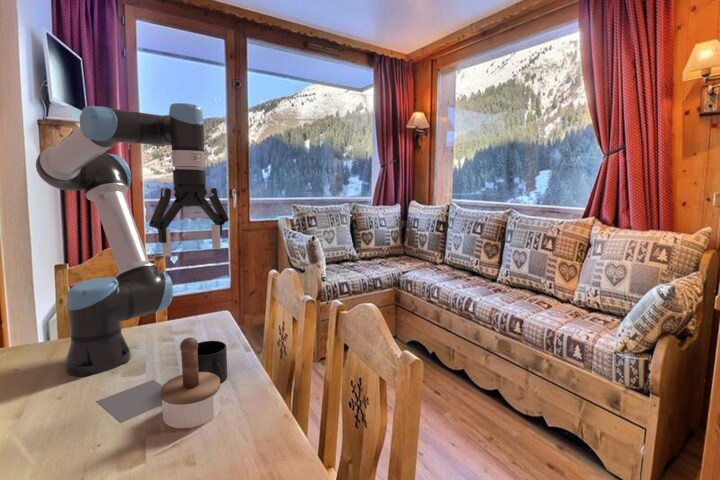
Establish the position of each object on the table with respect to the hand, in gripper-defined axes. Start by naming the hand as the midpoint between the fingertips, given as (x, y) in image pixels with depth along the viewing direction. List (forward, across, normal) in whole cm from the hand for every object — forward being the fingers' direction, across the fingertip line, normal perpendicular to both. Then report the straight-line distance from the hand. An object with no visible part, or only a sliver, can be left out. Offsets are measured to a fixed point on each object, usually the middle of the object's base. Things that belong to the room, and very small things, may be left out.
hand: (193, 252), depth 104 cm
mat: (+33, -17, -3) cm, 37 cm away
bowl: (+33, -12, -18) cm, 39 cm away
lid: (+27, -12, -18) cm, 34 cm away
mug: (+33, -2, -8) cm, 34 cm away
